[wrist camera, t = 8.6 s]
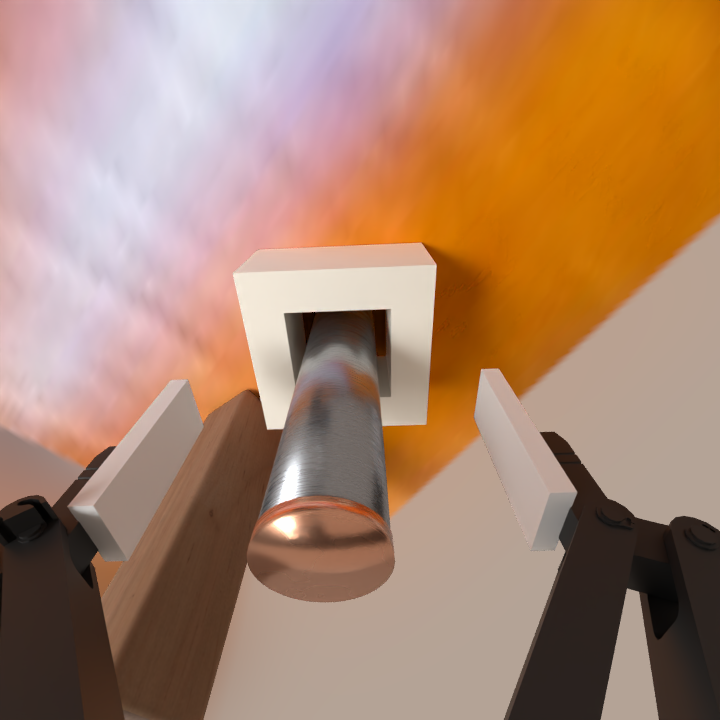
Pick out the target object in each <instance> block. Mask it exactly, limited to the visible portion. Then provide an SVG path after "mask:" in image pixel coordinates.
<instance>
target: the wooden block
mask: <svg viewBox="0 0 720 720" xmlns="http://www.w3.org/2000/svg"><path fill="white" fill-rule="evenodd" d="M203 426H204V427H203V429H202V431H201V433H200V434H199V436H198V438H197V440H196V441H195V443H194V445H193V447H192V449H191V450H190V452H189V454H188V456H187V457H186V459H185V461H184V463H183V465H182V466H181V468H180V470H179V472H178V473H177V475H176V477H175V479H174V480H173V482H172V484H171V486H170V488H169V489H168V491H167V493H166V495H165V496H164V498H163V500H162V502H161V504H160V505H159V507H158V509H157V511H156V512H155V514H154V516H153V518H152V520H151V521H150V523H149V525H148V527H147V528H146V530H145V532H144V534H143V535H142V537H141V539H140V541H139V543H138V544H137V546H136V548H135V550H134V551H133V553H132V555H131V557H130V559H129V560H128V561H123V562H122V564H121V566H120V568H119V569H118V571H117V573H116V574H115V576H114V578H113V579H112V581H111V583H110V585H109V586H108V588H107V590H106V592H105V593H104V595H103V597H102V598H101V602H102V607H103V612H104V617H105V622H106V627H107V632H108V637H109V642H110V647H111V653H112V658H113V663H114V668H115V673H116V678H117V683H118V688H119V693H120V698H121V703H122V708H123V713H124V718H125V720H203V718H204V715H205V712H206V708H207V705H208V701H209V697H210V694H211V690H212V687H213V683H214V679H215V676H216V672H217V669H218V665H219V661H220V658H221V654H222V650H223V647H224V643H225V640H226V636H227V633H228V629H229V625H230V622H231V618H232V615H233V611H234V608H235V604H236V600H237V597H238V593H239V590H240V586H241V582H242V579H243V575H244V572H245V568H246V564H247V551H248V546H249V543H250V539H251V536H252V532H253V529H254V526H255V524H256V522H257V521H258V518H259V514H260V511H261V507H262V503H263V500H264V496H265V493H266V489H267V486H268V482H269V478H270V475H271V471H272V468H273V464H274V461H275V457H276V453H277V450H278V446H279V443H280V439H281V435H282V432H283V429H268V430H267V426H266V422H265V417H264V412H263V408H262V403H261V401H260V400H259V399H258V398H257V397H256V396H255V395H254V394H253V393H251V392H250V391H248V390H246V391H243V392H242V393H240V394H239V395H237V396H236V397H234V398H233V399H231V400H230V401H228V402H227V403H225V404H224V405H222V406H221V407H219V408H218V409H216V410H215V411H213V412H212V413H210V414H209V415H208V417H207V418H206V420H205V422H204V423H203Z"/></svg>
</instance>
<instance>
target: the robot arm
mask: <svg viewBox="0 0 720 720" xmlns="http://www.w3.org/2000/svg"><path fill="white" fill-rule="evenodd" d="M474 419H475V422H476V424H477V426H478V429H479V431H480V433H481V436H482V438H483V440H484V443H485V445H486V447H487V450H488V452H489V454H490V457H491V459H492V461H493V464H494V466H495V468H496V471H497V473H498V475H499V478H500V480H501V483H502V485H503V487H504V489H505V492H506V494H507V496H508V499H509V501H510V504H511V506H512V508H513V511H514V513H515V515H516V517H517V520H518V522H519V524H520V527H521V529H522V532H523V534H524V536H525V539H526V541H527V543H528V545H529V548H530V550H531V551H545V550H555V548H556V546H557V543H558V541H559V539H560V541H561V543H562V545H563V547H564V549H565V551H566V552H565V554H564V556H563V559H562V561H561V564H560V566H559V568H558V573H557V576H556V578H555V581H554V584H553V586H552V589H551V592H550V595H549V598H548V600H547V603H546V606H545V608H544V611H543V614H542V617H541V619H540V622H539V625H538V627H537V630H536V633H535V636H534V638H533V641H532V644H531V647H530V650H529V653H528V655H527V658H526V660H525V664H524V666H523V669H522V671H521V674H520V677H519V679H518V682H517V685H516V688H515V690H514V693H513V696H512V699H511V701H510V704H509V707H508V709H507V712H506V715H505V718H504V720H600V719H601V714H602V709H603V704H604V700H605V694H606V689H607V684H608V680H609V674H610V669H611V665H612V660H613V655H614V650H615V645H616V640H617V635H618V629H619V625H620V620H621V615H622V609H623V605H624V600H625V594H626V590H627V588H628V589H632V590H635V591H639V594H640V600H641V606H642V613H643V619H644V626H645V632H646V638H647V645H648V652H649V658H650V664H651V670H652V677H653V684H654V690H655V697H656V703H657V710H658V716H659V720H720V531H719V530H718V529H716V528H714V527H713V526H711V525H710V524H708V523H706V522H704V521H701V520H698V519H696V518H693V517H686V516H681V517H676V518H674V519H673V520H672V521H671V522H670V524H669V526H668V525H664V524H659V523H655V522H651V521H647V520H643V519H639V518H636V517H634V515H633V514H632V513H631V512H630V511H629V510H628V509H627V508H626V507H624V506H622V505H621V504H619V503H617V502H616V501H613V500H610V499H607V497H606V496H605V495H604V493H603V492H602V490H601V489H600V487H599V486H598V485H597V483H596V482H595V480H594V479H593V478H592V476H591V475H590V473H589V472H588V471H587V469H586V468H585V466H584V465H583V464H581V461H580V459H579V458H578V456H577V455H575V453H574V451H573V450H572V448H571V447H570V445H569V444H568V442H566V440H564V439H563V438H562V437H560V436H559V435H558V434H556V433H555V432H539V431H538V429H537V428H536V426H535V425H534V423H533V422H532V420H531V419H530V417H529V415H528V414H527V412H526V411H525V409H524V408H523V406H522V404H521V403H520V401H519V400H518V398H517V396H516V395H515V393H514V392H513V390H512V389H511V387H510V385H509V384H508V382H507V381H506V379H505V378H504V376H503V374H502V373H501V371H500V370H499V369H481V375H480V381H479V388H478V394H477V401H476V407H475V414H474ZM203 427H204V426H203V423H202V420H201V417H200V414H199V411H198V408H197V405H196V402H195V399H194V396H193V393H192V390H191V387H190V384H189V381H188V380H171V381H170V382H169V383H168V384H167V386H166V387H165V388H164V389H163V391H162V392H161V393H160V394H159V395H158V397H157V398H156V399H155V400H154V402H153V403H152V404H151V405H150V406H149V408H148V409H147V410H146V411H145V412H144V414H143V415H142V416H141V417H140V419H139V420H138V421H137V422H136V423H135V425H134V426H133V427H132V428H131V430H130V431H129V432H128V433H127V434H126V436H125V437H124V438H123V439H122V440H121V442H120V443H119V444H118V445H117V446H113V447H108V448H107V449H106V450H104V451H103V452H102V453H100V454H99V455H97V456H96V457H95V458H94V459H93V460H92V462H91V463H90V464H89V465H88V466H87V467H86V470H84V471H83V472H82V473H81V474H80V476H79V477H78V480H75V481H74V483H73V484H72V485H71V486H70V487H69V488H68V489H67V491H66V492H65V493H64V494H63V495H62V496H61V498H60V499H59V500H58V501H57V502H56V504H55V505H54V506H53V507H52V508H51V506H50V505H49V504H48V502H47V501H46V500H45V498H44V497H42V496H39V495H35V496H28V497H25V498H22V499H19V500H17V501H15V502H13V503H11V504H9V505H7V506H6V507H4V508H3V509H2V510H1V511H0V720H125V718H124V713H123V708H122V703H121V698H120V693H119V688H118V683H117V678H116V673H115V668H114V663H113V658H112V653H111V647H110V642H109V637H108V632H107V627H106V622H105V617H104V612H103V607H102V602H101V597H100V592H99V587H98V582H97V577H96V572H95V568H94V566H93V564H92V563H91V561H92V559H93V557H94V556H95V554H96V553H97V551H98V552H99V553H100V555H101V556H102V557H103V559H104V560H105V561H128V560H129V559H130V557H131V555H132V553H133V551H134V550H135V548H136V546H137V544H138V543H139V541H140V539H141V537H142V535H143V534H144V532H145V530H146V528H147V527H148V525H149V523H150V521H151V520H152V518H153V516H154V514H155V512H156V511H157V509H158V507H159V505H160V504H161V502H162V500H163V498H164V496H165V495H166V493H167V491H168V489H169V488H170V486H171V484H172V482H173V480H174V479H175V477H176V475H177V473H178V472H179V470H180V468H181V466H182V465H183V463H184V461H185V459H186V457H187V456H188V454H189V452H190V450H191V449H192V447H193V445H194V443H195V441H196V440H197V438H198V436H199V434H200V433H201V431H202V429H203Z"/></svg>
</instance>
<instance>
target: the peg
mask: <svg viewBox="0 0 720 720" xmlns="http://www.w3.org/2000/svg"><path fill="white" fill-rule="evenodd" d="M247 563H248V566H249V568H250V570H251V572H252V573H253V575H254V576H255V577H256V578H257V579H258V580H259V581H260V582H261V583H262V584H263V585H265V586H267V587H268V588H270V589H271V590H273V591H276V592H277V593H280V594H282V595H285V596H288V597H291V598H294V599H299V600H304V601H311V602H339V601H346V600H351V599H355V598H358V597H361V596H363V595H366V594H368V593H371V592H372V591H374V590H376V589H377V588H379V587H380V586H381V585H383V584H384V583H385V582H386V581H387V580H388V578H389V577H390V575H391V574H392V572H393V569H394V564H395V558H394V546H393V536H392V533H391V530H390V518H389V505H388V493H387V480H386V468H385V455H384V443H383V430H382V418H381V405H380V393H379V380H378V368H377V355H376V343H375V330H374V318H373V313H372V311H371V310H351V311H325V312H316V314H315V318H314V321H313V325H312V328H311V332H310V335H309V339H308V343H307V346H306V350H305V353H304V357H303V360H302V364H301V368H300V371H299V375H298V378H297V382H296V385H295V389H294V393H293V396H292V400H291V403H290V407H289V410H288V414H287V418H286V421H285V425H284V428H283V432H282V435H281V439H280V443H279V446H278V450H277V453H276V457H275V461H274V464H273V468H272V471H271V475H270V478H269V482H268V486H267V489H266V493H265V496H264V500H263V503H262V507H261V511H260V514H259V518H258V521H257V522H256V524H255V526H254V529H253V532H252V536H251V539H250V543H249V546H248V551H247Z"/></svg>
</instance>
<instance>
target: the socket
mask: <svg viewBox="0 0 720 720" xmlns="http://www.w3.org/2000/svg"><path fill="white" fill-rule="evenodd" d="M436 268H437V265H436V263H435V262H434V260H433V259H432V257H431V256H430V254H429V253H428V251H427V250H426V249H425V247H424V246H423V244H422V243H402V244H378V245H355V246H331V247H307V248H283V249H259V250H257V251H256V252H255V253H254V254H253V255H252V256H250V257H249V258H248V259H247V260H246V261H245V262H244V263H243V264H242V265H241V266H240V267H239V268H238V269H237V270H236V271H234V272H233V277H234V281H235V286H236V290H237V295H238V299H239V304H240V308H241V313H242V317H243V322H244V327H245V331H246V336H247V340H248V345H249V349H250V354H251V358H252V363H253V367H254V372H255V376H256V381H257V385H258V390H259V394H260V399H261V403H262V408H263V412H264V417H265V422H266V426H267V430H268V429H283V428H284V425H285V421H286V418H287V414H288V410H289V407H290V403H291V400H292V396H293V393H294V389H295V385H296V382H297V378H298V375H299V371H300V368H301V364H302V360H303V357H304V353H305V350H306V339H305V331H304V324H303V316H302V312H325V311H351V310H377V309H386V356H377V368H378V380H379V393H380V405H381V418H382V426H395V425H426V420H427V405H428V390H429V375H430V359H431V344H432V329H433V314H434V298H435V283H436Z"/></svg>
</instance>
